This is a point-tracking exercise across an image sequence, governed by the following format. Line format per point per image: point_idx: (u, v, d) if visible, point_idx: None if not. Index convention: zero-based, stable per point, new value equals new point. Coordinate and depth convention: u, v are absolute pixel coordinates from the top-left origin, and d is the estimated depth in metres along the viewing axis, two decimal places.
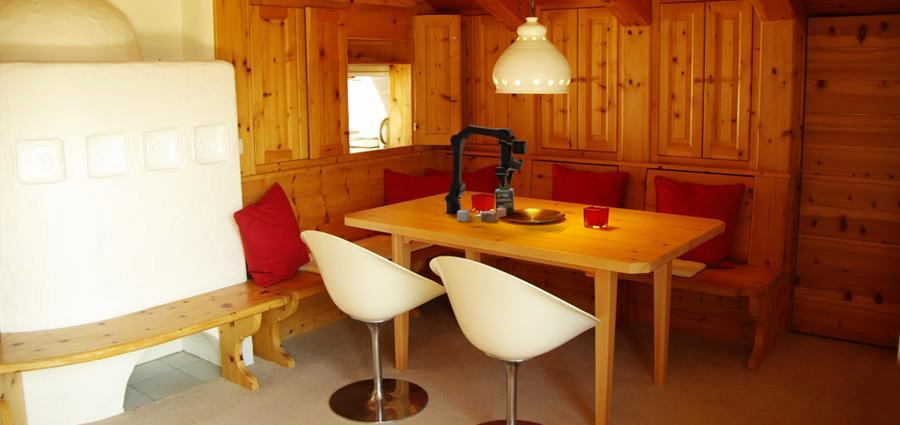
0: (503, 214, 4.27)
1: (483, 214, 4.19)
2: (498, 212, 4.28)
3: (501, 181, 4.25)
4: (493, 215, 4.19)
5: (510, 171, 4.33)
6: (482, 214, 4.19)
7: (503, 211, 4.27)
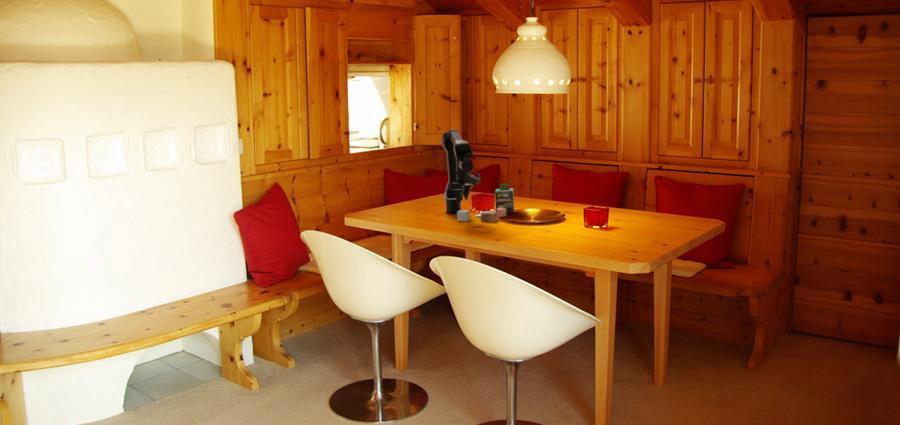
0: (503, 214, 4.27)
1: (483, 214, 4.19)
2: (498, 212, 4.28)
3: (457, 197, 4.16)
4: (493, 215, 4.19)
5: (467, 186, 4.25)
6: (482, 214, 4.19)
7: (503, 211, 4.27)
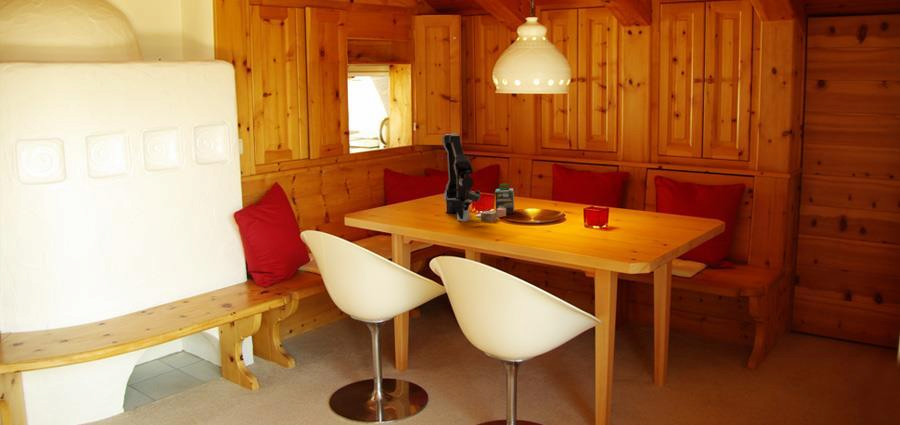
0: (503, 214, 4.27)
1: (483, 214, 4.19)
2: (498, 212, 4.28)
3: (459, 213, 4.20)
4: (493, 215, 4.19)
5: (466, 203, 4.25)
6: (482, 214, 4.19)
7: (503, 211, 4.27)
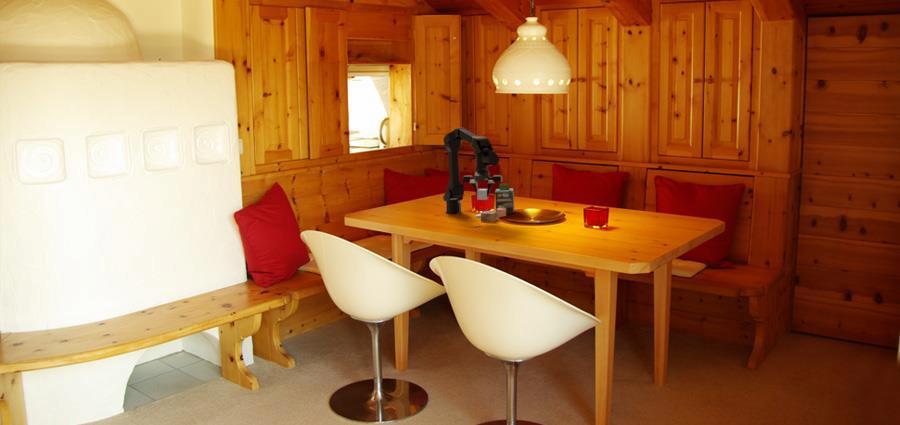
0: (503, 214, 4.27)
1: (483, 214, 4.19)
2: (498, 212, 4.28)
3: None
4: (493, 215, 4.18)
5: (488, 183, 4.17)
6: (482, 214, 4.19)
7: (503, 211, 4.27)
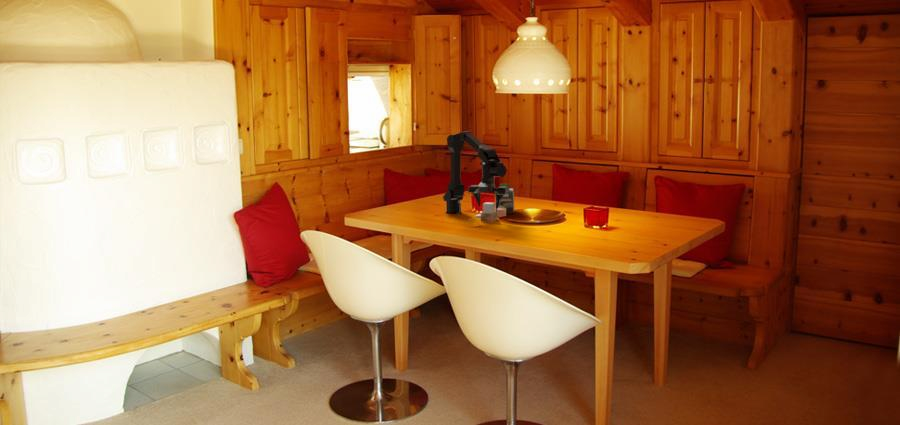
0: (503, 214, 4.27)
1: (483, 214, 4.19)
2: (498, 212, 4.28)
3: None
4: (493, 216, 4.18)
5: None
6: (482, 214, 4.19)
7: (503, 211, 4.27)
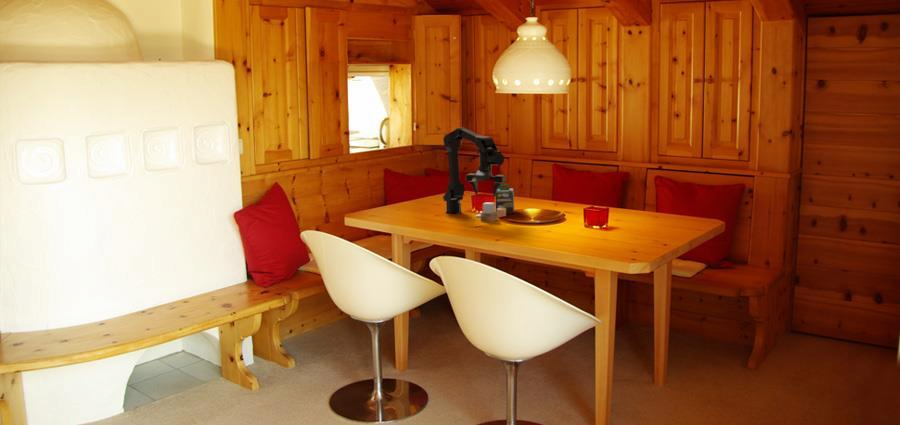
0: (503, 214, 4.27)
1: (483, 214, 4.19)
2: (498, 212, 4.27)
3: None
4: (493, 215, 4.18)
5: None
6: (482, 214, 4.19)
7: (503, 211, 4.27)
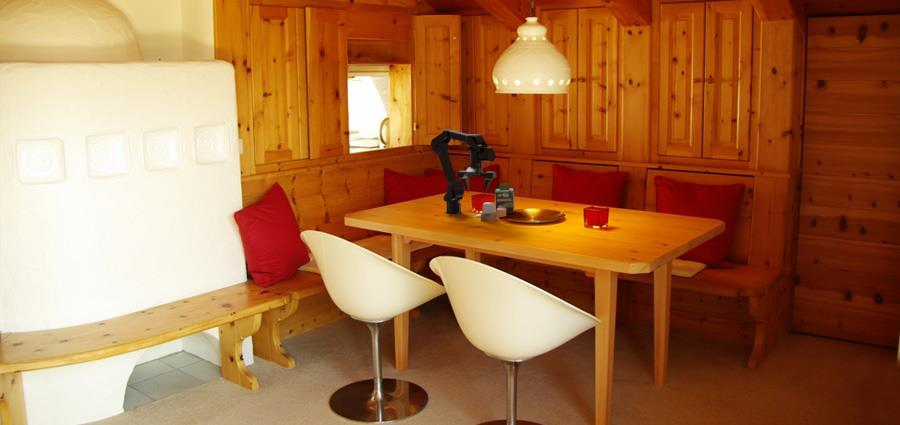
0: (503, 214, 4.27)
1: (483, 214, 4.19)
2: (498, 212, 4.28)
3: None
4: (493, 215, 4.18)
5: None
6: (482, 214, 4.19)
7: (503, 211, 4.27)
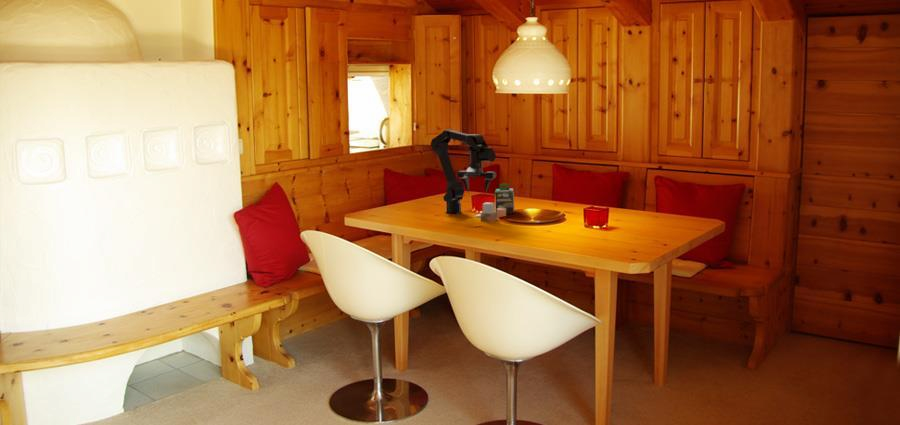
0: (503, 214, 4.27)
1: (483, 214, 4.19)
2: (498, 212, 4.28)
3: None
4: (493, 215, 4.18)
5: None
6: (482, 214, 4.19)
7: (503, 211, 4.27)
